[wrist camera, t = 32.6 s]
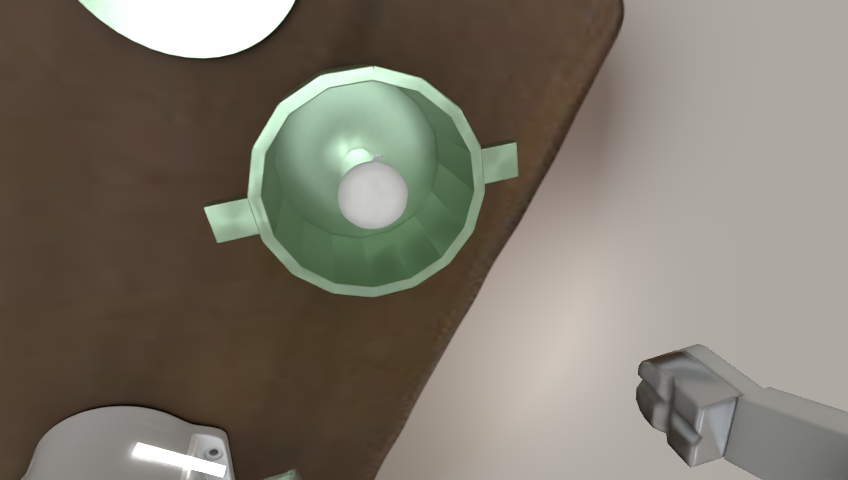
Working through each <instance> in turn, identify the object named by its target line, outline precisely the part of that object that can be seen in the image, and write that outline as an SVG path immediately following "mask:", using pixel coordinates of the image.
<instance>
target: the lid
mask: <svg viewBox="0 0 848 480" xmlns="http://www.w3.org/2000/svg"><path fill="white" fill-rule="evenodd" d="M78 1H79V2H80V3H81V4H82V5H83V6H84V7H85V8H86V9H87V10H89V11H90V12H91V13H92V14H93V15H94V16H96V17H97V18H98V19H99V20H100V21H102V22H103V23H105V24H106V25H107V26H109V27H110V28H112V29H113V30H115V31H116V32H117V33H119V34H121V35H123V36H125V37H126V38H128V39H130V40H132V41H134V42H136V43H138V44H140V45H143V46H145V47H147V48H150V49H152V50H155V51H159V52H162V53H165V54H169V55H174V56H179V57H185V58H202V59H206V58H218V57H224V56H228V55H233V54H237V53H239V52H242V51H244V50H247V49H249V48H251V47H253V46H255V45H256V44H258V43H260V42H262V41H263V40H264V39H266V38H267V37H268V36H269V35H271V34H272V33H273V32H274V31H275V30H276V29H277V28H278V27H279V26H280V25H281V24H282V22H283V21H284V20H285V18H286V17H287V16H288V14H289V13H290V11H291V10H292V8H293V6H294V4H295V2H296V0H78Z"/></svg>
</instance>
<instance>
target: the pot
mask: <svg viewBox="0 0 848 480" xmlns="http://www.w3.org/2000/svg"><path fill="white" fill-rule="evenodd" d="M360 148H363V149H366V150H369V151H371V152H374V153H375V154H376V155H383V157H382V158H381V159H382V160H384V161H385V162H386V163H387V164H389V165H391V166H392V167H394V168H395V169H396V170H397V171H398V172H399V173H400V174H401V176H402V177H403V179H404V180H405V182H406V185H407V188H408V199H407V205H406V208H405V210H404V212H403V214H402V215H401V216H400V217H399V218H398V219H397V220H396V221H395V222H393V223H391V224H390V225H388V226H386V227H383V228H378V229H364V228H360V227H358V226H356V225H355V224H353V223H351V222H350V221H349V220H347V219H346V218H345V217H344V216H343V214H342V212H341V210H340V208H339V204H338V188H339V182H340V177H341V163H342V160H343V159H344V158H345V157H346V155H347V154H348V153H349V151H353V150H356V149H360ZM514 177H518V161H517V143H516V142H515V141H512V140H506V141H501V142H497V143H492V144H487V145H482V146H480V144H479V142H478V140H477V138H476V137H475V135H474V133H473V131H472V129H471V127H470V125H469V123H468V121H467V120H466V118H465V116H464V114H463V112H462V110H461V109H460V108H459V106H457V105H456V104H455V103H453V102H452V101H451V100H450V99H448V98H447V97H446V96H445V95H443V94H442V93H441V92H440V91H438V90H437V89H436V88H435V87H433V86H432V85H431V84H430V83H428V82H427V81H426V80H425V79H423V78H421V77H417V76H414V75H410V74H406V73H402V72H398V71H394V70H391V69H387V68H383V67H379V66H375V65H366V64H353V65H347V66H341V67H335V68H329V69H323V70H319V71H318V72H316V73H315V74H313V75H312V76H310V77H309V78H307V79H306V80H304V81H303V82H301V83H300V84H299V85H297V86H296V87H294V88H293V89H291V90H290V91H288V92H287V93H286V95H285V96H284V97H283V98H282V100H281V101H280V102H279V103H278V104H277V106H276V108H275V109H274V111H273V113H272V114H271V116H270V118H269V119H268V121H267V123H266V125H265V126H264V128H263V130H262V131H261V133H260V135H259V136H258V138H257V140H256V141H255V143H254V145H253V146H252V149H251V159H250V169H249V179H248V189H247V194H245V195H240V196H236V197H231V198H226V199H221V200H216V201H211V202H207V203H206V205H205V206H204V207H203V208H204V211H205V213H206V216H207V218H208V221H209V223H210V226H211V228H212V231H213V234H214V236H215V239H216V241H217V243H220V242H225V241H229V240H234V239H238V238H243V237H247V236H252V235H256V234H260V237H261V240H262V241H263V243H264V244H265V245H266V246H267V247H268V248H269V249H270V250H271V252H272V253H273V254H274V255H275V256H276V257H277V258H278V259H279V260H280V261H281V263H282V264H283V265H284V266H285V267H286V268H287V269H288V270H289V271H290V272H291V273H292V274H293V275H295V276H297V277H299V278H301V279H303V280H305V281H307V282H310V283H312V284H314V285H316V286H318V287H320V288H322V289H324V290H326V291H328V292H330V293H333V294H344V295H355V296H366V297H377V296H381V295H385V294H389V293H393V292H396V291H400V290H404V289H408V288H412V287H414V286H417V285H418V284H420V283H421V282H423V281H424V280H426V279H427V278H429V277H430V276H432V275H433V274H435V273H436V272H438V271H439V270H441V269H442V268H444V267H445V266H447V265H448V264H449V263H450V262H451V261H452V259H453V258H454V257H455V255H456V254H457V253H458V251H459V250H460V249H461V247H462V246H463V245H464V243H465V242H466V241H467V239H468V238H469V237H470V235H471V234H472V233H473V231H474V228H475V225H476V221H477V218H478V214H479V211H480V208H481V204H482V201H483V197H484V194H485V184H487V183H491V182H496V181H500V180H505V179H509V178H514Z"/></svg>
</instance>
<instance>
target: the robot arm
mask: <svg viewBox="0 0 848 480" xmlns="http://www.w3.org/2000/svg"><path fill="white" fill-rule="evenodd" d="M638 375H639V376H640V377H641V378H642V379H643V380H642V381H641V383H640V384H639V386H638V387H637V390H636V400H637V403H638V406H639V409H640V411H641V412H642V414H643V416H644V417H645V419H646V420H647V421H648V422H649V424H650V425H651V426H652V427H653V428H655V429H657V430H659V431H662V432H664V433H666V435H667V442H668V444H669V445H670V446H671V447H672V449H673V450H674V451H675V452H676V453H677V454H678V455H679V456H680V457H681V458H682V459H683V460H684V461H685V463H687V465H688V466H689V467H690V468H691V467H694V466H697V465H701V464H704V463H707V462H710V461H713V460H716V459H719V458H722V457H725V458H724V459H725V460H727V461H729V462H730V463H732V464H734V465H736V466H738V467H740V468H742V469H743V470H745V471H747V472H749V473H751V474H753V475H755V476H756V477H759V478H760V479H762V480H848V412H846V411H843V410H840V409H837V408H833V407H831V406H827V405H824V404H821V403H818V402H815V401H812V400H808V399H805V398H802V397H799V396H796V395H793V394H790V393H786V392H783V391H780V390H777V389H774V388H771V387H768V388H765V389H764V388H762V387H761V386H759V385H758V384H757V383H755V382H754V381H752V380H751V379H750V378H748V377H747V376H746V375H744V374H743V373H741V372H740V371H739V370H737V369H736V368H735V367H733V366H731V364H729V363H728V362H726V361H725V360H724V359H722V358H721V357H720V356H718V355H717V354H715V353H714V352H713V351H711V350H710V349H708V348H707V347H705V346H703V345H700V344H696V345H693V346H690V347H687V348H683V349H680V350H676V351H673V352H670V353H666V354H664V355H660V356H657V357H654V358H651V359H648V360H645V361H642V362H641V364H640V365H639V368H638ZM213 449H216V450H213ZM20 480H235V475H234V470H233V464H232V459H231V454H230V448H229V443H228V437H227V434H226V433H225V432H224V431H223V430H221V429H218V428H214V427H208V426H201V425H193V424H190V423H187V422H185V421H183V420H181V419H179V418H176V417H174V416H172V415H170V414H167V413H164V412H161V411H158V410H154V409H149V408H143V407H135V406H112V407H103V408H97V409H93V410H89V411H85V412H82V413H79V414H76V415H74V416H71V417H69V418H67V419H65V420H63V421H62V422H60V423H58V424H57V425H55V426H54V427H53V428H51V429H50V430H49V431H48V432H47V433H46V434H45V435H44V436H43V437H42V439H41V440H40V441H39V443H38V445H37V447H36V449H35V451H34V454H33V457H32V460H31V463H30V465H29V468H28V470H27V472H26V474H25V475H24V476H23V477H22V478H21V479H20ZM256 480H303V477H302V475H301V473H300V471H299V468H296V469H292V470H289V471H285V472H281V473H278V474H274V475H271V476H267V477H263V478H260V479H256Z"/></svg>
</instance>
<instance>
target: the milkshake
mask: <svg viewBox="0 0 848 480" xmlns="http://www.w3.org/2000/svg"><path fill="white" fill-rule="evenodd" d="M382 157H383V155H376V154H375V153H374V152H371V151H369V150H366V149H363V148H360V149H356V150H353V151H349V153H348V154H347V155H346V157H345V158H344V159H343V160H342V163H341V177H340V182H339V188H338V204H339V208H340V210H341V212H342V214H343V216H344V217H345V218H346V219H347V220H349V221H350V222H351V223H353V224H355V225H356V226H358V227H360V228H364V229H378V228H383V227H386V226H388V225H390V224H391V223H393V222H395V221H396V220H397V219H398V218H399V217H400V216H401V215H402V214H403V212H404V210H405V208H406V205H407V199H408V188H407V185H406V182H405V180H404V179H403V177H402V176H401V174H400V173H399V172H398V171H397V170H396V169H395V168H394V167H392V166H391V165H389V164H387V163H386V162H385V161H384V160H382V159H381V158H382Z"/></svg>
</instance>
